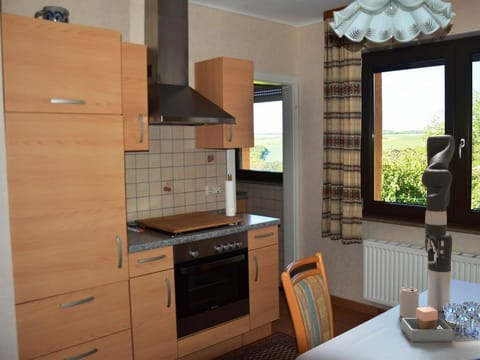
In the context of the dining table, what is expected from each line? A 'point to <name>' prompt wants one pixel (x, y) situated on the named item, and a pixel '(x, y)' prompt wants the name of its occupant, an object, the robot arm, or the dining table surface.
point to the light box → (426, 313)
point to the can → (409, 302)
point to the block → (426, 325)
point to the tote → (427, 331)
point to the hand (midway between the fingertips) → (434, 264)
